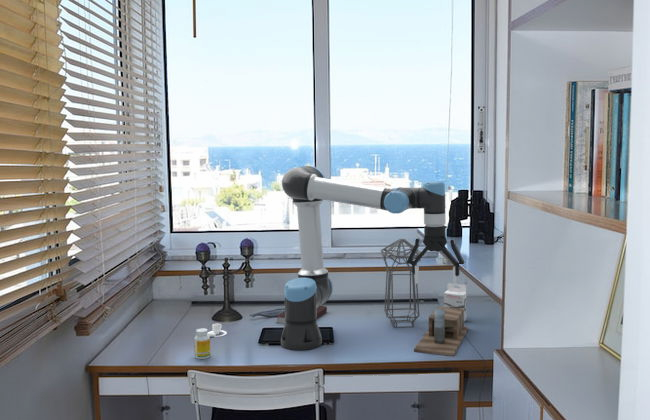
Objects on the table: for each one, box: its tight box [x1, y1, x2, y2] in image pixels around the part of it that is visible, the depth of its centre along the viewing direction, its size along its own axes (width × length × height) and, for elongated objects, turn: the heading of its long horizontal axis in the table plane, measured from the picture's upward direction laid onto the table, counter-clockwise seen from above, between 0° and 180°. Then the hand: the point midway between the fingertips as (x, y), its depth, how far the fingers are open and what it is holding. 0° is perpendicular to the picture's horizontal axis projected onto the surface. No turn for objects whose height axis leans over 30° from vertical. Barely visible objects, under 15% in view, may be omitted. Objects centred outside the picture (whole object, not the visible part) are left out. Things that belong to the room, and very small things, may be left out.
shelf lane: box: [413, 306, 469, 357], centre depth 224 cm, size 32×14×8 cm, turn 158°
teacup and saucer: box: [207, 322, 228, 338], centre depth 236 cm, size 9×8×4 cm
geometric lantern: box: [380, 238, 425, 329], centre depth 242 cm, size 16×16×35 cm
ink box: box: [443, 282, 468, 322], centre depth 248 cm, size 8×5×15 cm, turn 61°
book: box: [275, 305, 328, 325], centre depth 256 cm, size 14×22×4 cm, turn 157°
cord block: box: [433, 308, 454, 344], centre depth 227 cm, size 22×6×12 cm, turn 158°
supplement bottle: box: [193, 327, 211, 360], centre depth 210 cm, size 5×5×10 cm
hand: (435, 284), depth 216 cm, fingers open, 13 cm apart
